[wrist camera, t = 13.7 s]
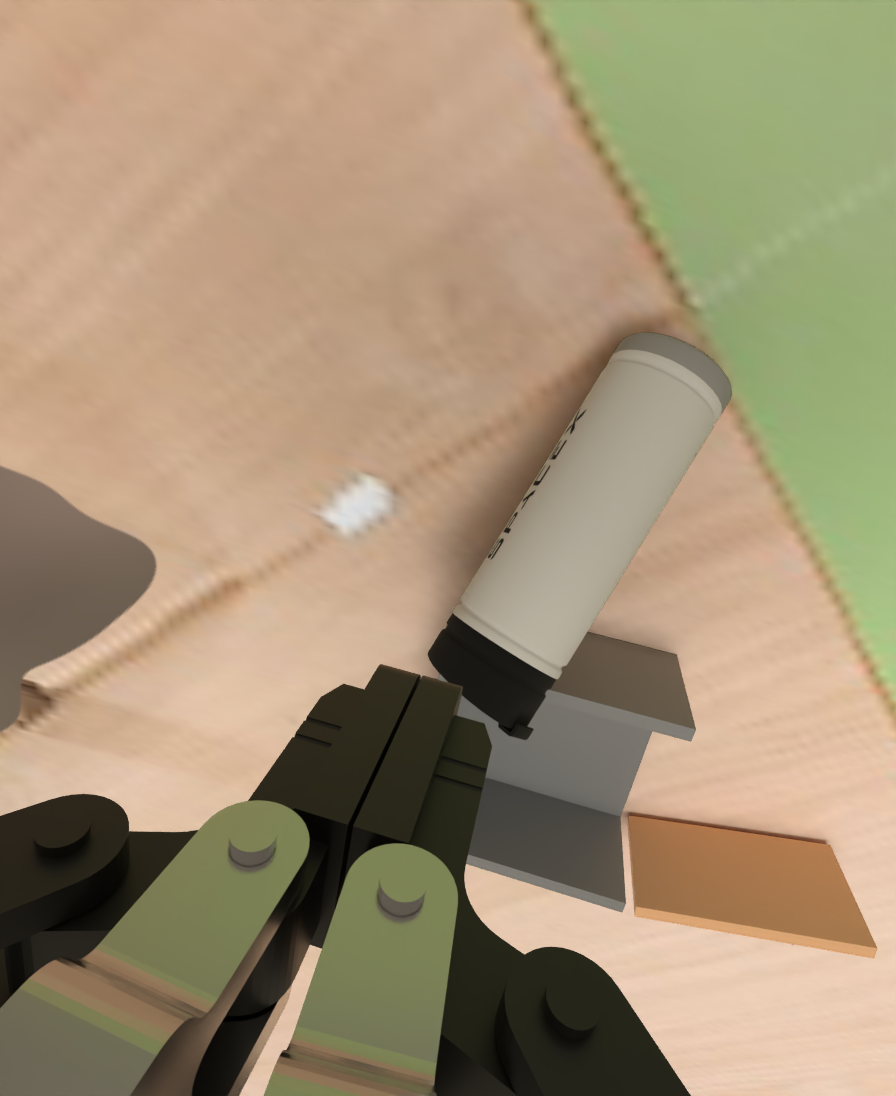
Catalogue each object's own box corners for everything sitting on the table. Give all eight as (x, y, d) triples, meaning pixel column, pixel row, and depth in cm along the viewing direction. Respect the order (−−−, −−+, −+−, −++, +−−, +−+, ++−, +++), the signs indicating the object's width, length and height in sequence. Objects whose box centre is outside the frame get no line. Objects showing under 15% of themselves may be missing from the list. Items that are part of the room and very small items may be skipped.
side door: (823, 869, 44) (868, 975, 37) (625, 839, 46) (632, 933, 39) (830, 844, 43) (877, 948, 36) (628, 815, 45) (636, 906, 38)
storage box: (676, 654, 41) (696, 729, 33) (616, 817, 46) (622, 912, 39) (467, 601, 43) (441, 660, 35) (432, 763, 48) (404, 844, 40)
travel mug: (749, 418, 33) (546, 748, 32) (639, 387, 37) (458, 679, 36) (730, 345, 28) (490, 733, 27) (605, 319, 32) (395, 656, 31)
